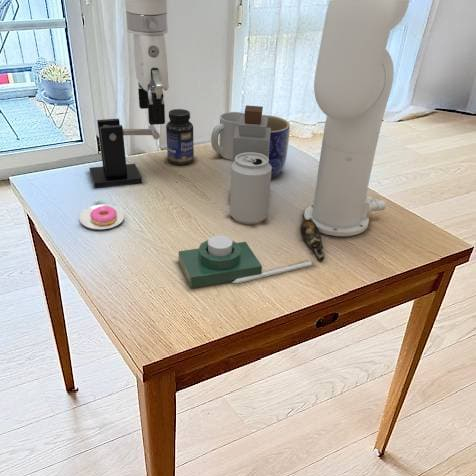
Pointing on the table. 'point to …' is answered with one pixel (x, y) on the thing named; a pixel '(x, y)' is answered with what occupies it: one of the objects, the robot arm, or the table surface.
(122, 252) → the table surface
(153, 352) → the table surface
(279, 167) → the planter
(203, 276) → the button block
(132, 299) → the table surface
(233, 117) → the cup
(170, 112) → the pill bottle
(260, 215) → the can
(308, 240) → the bird model
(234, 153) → the perfume bottle
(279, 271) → the pencil
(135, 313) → the table surface
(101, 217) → the donut
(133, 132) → the flush lever
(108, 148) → the lever bracket
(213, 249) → the flush button
